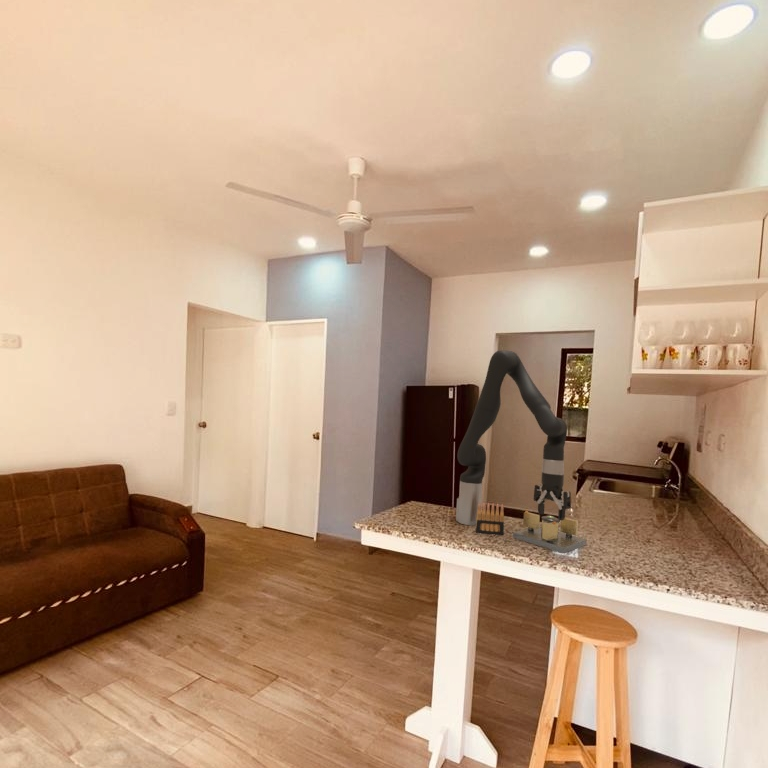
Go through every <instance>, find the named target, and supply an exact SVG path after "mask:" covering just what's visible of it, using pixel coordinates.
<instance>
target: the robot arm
mask: <svg viewBox="0 0 768 768" xmlns="http://www.w3.org/2000/svg"><path fill="white" fill-rule="evenodd" d="M487 368H488V369H487V371H486V377H485V380H484V383H483V386H482V388H481V391H480V395H479V397H478V400H477V403H476V405H475V408H474V411H473V414H472V417H471V420H470V423H469V424H468V428H467V430H466V432H465V434H464V436H463V439H462V441H461V442H460V444H459V447H458V450H457V457H456V458H457V461H458V463H459V464H460V465H461V466H465V467H467V469H466V470H465V471H464V472H462V473H461V474H460V476H459V491H458V492H459V494H458V495H459V496H458V497H457V498H456V508H455V509H456V511H455V512H456V513H455V521H456V522H458V523H459V524H460V525H461V524H462V525H464V526H465V525H466V526H472V527H473V526H475V527H476V520H477V511H478V504H479V502H480V504H481V505H482V489H483V488H482V487H483V479H484V477H485V474H486V472H485V471H486V463H487V451H486V449H485V447H484V445H482V444H481V443H479V441H480V439H481V438H482V436H483V435H484V434H485V433H486V432H487V431H488V430H489V429H490V428H491V427H492V426H493V424H495V422H496V420H497V416H498V415H499V412H500V409H501V401H502V400H501V388H502V384H503V382H504V380H505V379H504V378H506V375H508V376H509V377H510V378H511V379H512V380H513V381H514V383H515V384H516V386H517V388H518V390H519V392H520V395H521V399H522V401H523V402H524V404H525V405H526V407H527V408H528V409H529V411H530V413H531V414H532V415H533V416H534V418H535V420H536V423H537V424H538V426H539V428H540V429H541V430H542V432H543V433H544V434H545V435H546V436H547V438H546V442H545V444H544V445H543V452H542V453H543V455H542V463H541V481H540V482H541V484H535V485H534V490H533V501H534V502H536V503H537V512H538V515H544V514H545V503H546V501H548V500H549V501H552V502H554V503H555V505H557V507H558V515H557V516H558V520H559V521H561V520H564V519H565V518H566V510H569V509H571V508H572V499H571V498H572V494H571V491H568V490H567V491H566V490H565V491H564V490H563V487H564V482H565V481H564V480H565V479H564V478H565V465H564V464H565V463H564V458H565V454H564V453H565V451H564V450H565V445H566V440H567V433H568V427H567V426H568V425H567V423H566V421H565V420H564V419H563V418H560V417H557V416H556V415H555V414H554V413H553V411H552V410H551V404H550V403H549V401H548V400H547V399H546V397H545V396H544V395H543V393H541V391H540V390H539V388H538V387H537V386H536V384H535V383H534V381H533V380H532V378H531V376H530V374H529V372H528V371H527V369H526V368H525V366H524V364H523V362H522V360H521V358H520V357H519V355H518V353H516V352H515V351H512V350H504V349H503V350H501V349H500V350H497V351H495V352H494V353H493V354H492V356H491V358H490V360H489V363H488V367H487Z"/></svg>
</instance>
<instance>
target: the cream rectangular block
mask: <svg viewBox="0 0 768 768" xmlns="http://www.w3.org/2000/svg"><path fill="white" fill-rule="evenodd" d="M578 528H579V520H577V519H573V518H569V517H568V518H567V517H565V519H564V520H560V532H561V533H565V534H566V536H567V537H572V536H578V533H579V532H578V531H579V529H578Z"/></svg>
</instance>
